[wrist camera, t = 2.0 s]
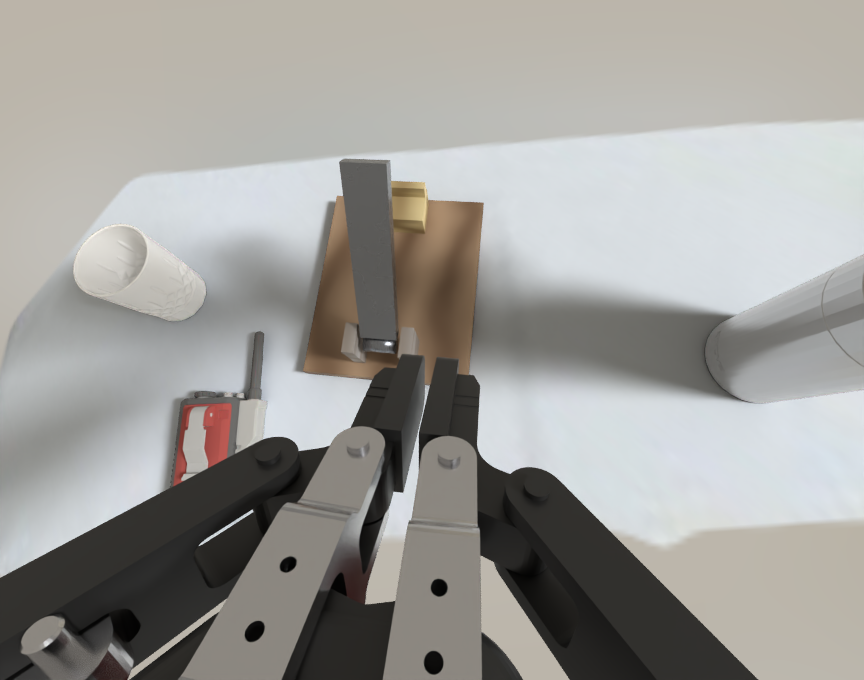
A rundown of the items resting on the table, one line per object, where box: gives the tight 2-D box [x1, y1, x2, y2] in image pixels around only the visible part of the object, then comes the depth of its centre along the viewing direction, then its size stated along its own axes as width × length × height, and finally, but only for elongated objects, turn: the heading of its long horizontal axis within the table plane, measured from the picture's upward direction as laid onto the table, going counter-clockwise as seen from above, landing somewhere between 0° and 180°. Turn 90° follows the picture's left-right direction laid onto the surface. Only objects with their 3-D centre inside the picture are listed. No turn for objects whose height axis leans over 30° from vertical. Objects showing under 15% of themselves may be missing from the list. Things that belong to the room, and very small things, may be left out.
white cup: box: [73, 224, 206, 321], centre depth 44 cm, size 8×8×10 cm
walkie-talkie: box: [170, 331, 267, 488], centre depth 42 cm, size 9×4×20 cm
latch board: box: [303, 181, 484, 385], centre depth 43 cm, size 18×22×6 cm
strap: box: [339, 159, 399, 354], centre depth 35 cm, size 4×18×2 cm
